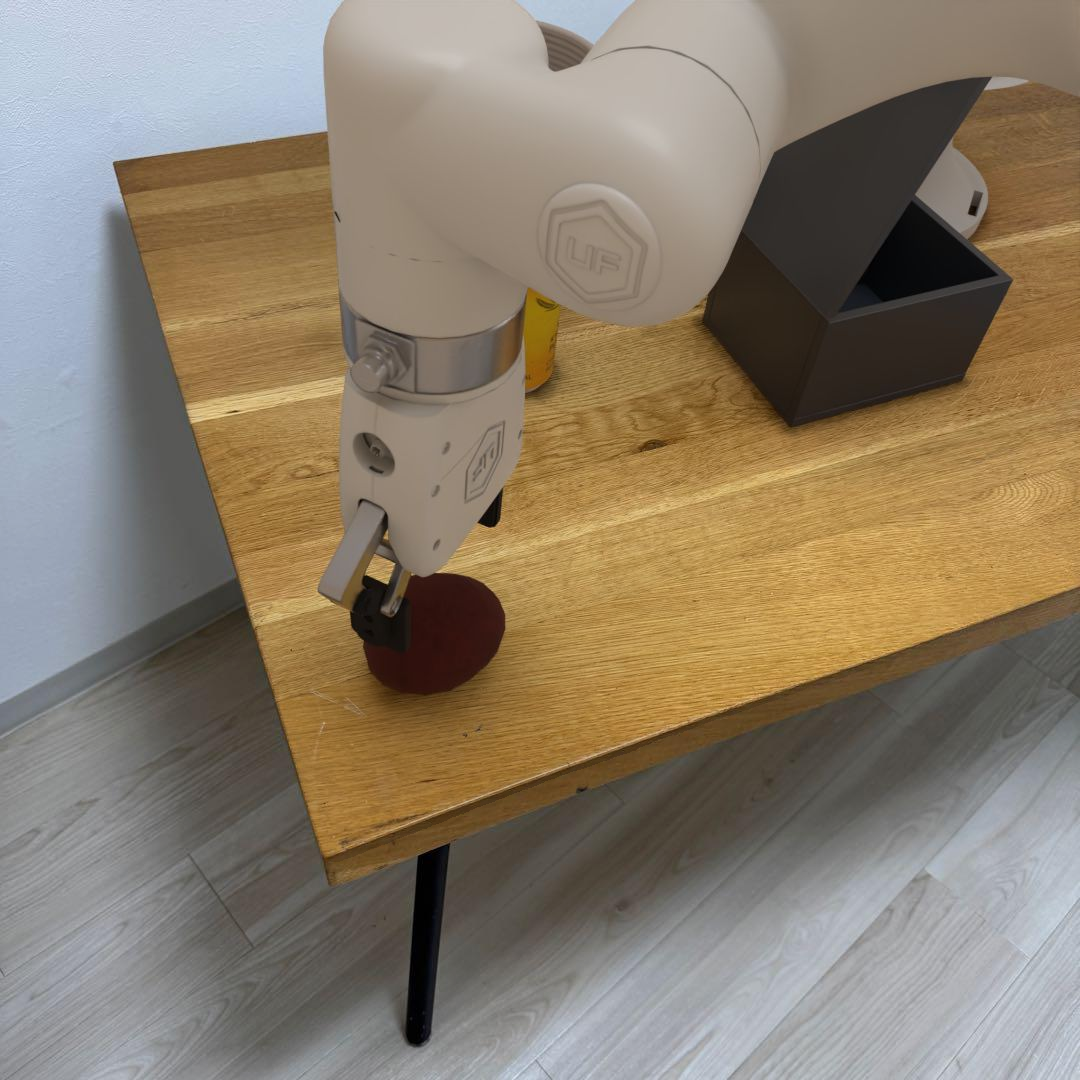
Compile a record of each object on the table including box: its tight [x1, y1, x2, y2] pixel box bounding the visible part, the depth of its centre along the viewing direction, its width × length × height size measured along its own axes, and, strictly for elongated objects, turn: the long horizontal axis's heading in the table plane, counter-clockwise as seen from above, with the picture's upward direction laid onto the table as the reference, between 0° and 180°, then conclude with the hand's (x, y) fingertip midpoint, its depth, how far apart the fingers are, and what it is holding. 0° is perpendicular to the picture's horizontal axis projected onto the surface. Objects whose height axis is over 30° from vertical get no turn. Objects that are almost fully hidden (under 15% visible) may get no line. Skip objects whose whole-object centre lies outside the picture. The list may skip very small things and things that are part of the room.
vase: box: [915, 76, 1030, 240], centre depth 96 cm, size 25×25×16 cm
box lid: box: [742, 77, 992, 318], centre depth 67 cm, size 17×14×5 cm
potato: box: [362, 572, 506, 696], centre depth 59 cm, size 7×8×7 cm
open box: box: [701, 195, 1014, 428], centre depth 80 cm, size 17×14×10 cm
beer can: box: [523, 287, 562, 394], centre depth 73 cm, size 6×6×15 cm
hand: (429, 574), depth 55 cm, fingers open, 9 cm apart
